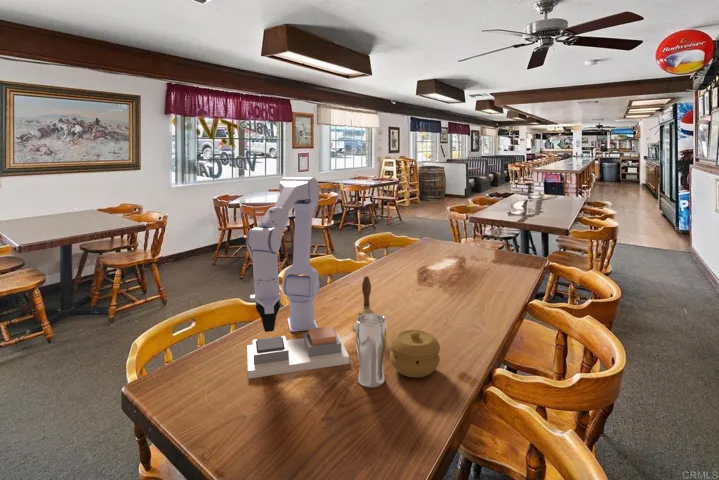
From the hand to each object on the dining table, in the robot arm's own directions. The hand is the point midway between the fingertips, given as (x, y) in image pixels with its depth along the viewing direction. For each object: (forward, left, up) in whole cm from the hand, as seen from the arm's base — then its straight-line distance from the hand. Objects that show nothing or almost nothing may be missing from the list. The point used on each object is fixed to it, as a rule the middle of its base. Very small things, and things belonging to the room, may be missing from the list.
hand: (269, 330), depth 100 cm
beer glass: (+15, +21, -9) cm, 28 cm away
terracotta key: (0, +13, -6) cm, 14 cm away
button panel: (0, +6, -8) cm, 11 cm away
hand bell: (-12, +28, -9) cm, 32 cm away
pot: (+14, +32, -9) cm, 36 cm away
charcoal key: (0, 0, -7) cm, 7 cm away
